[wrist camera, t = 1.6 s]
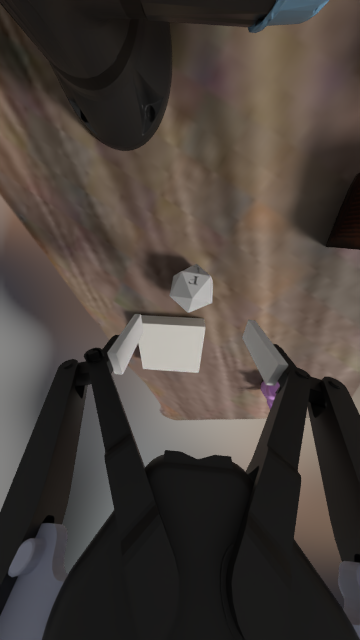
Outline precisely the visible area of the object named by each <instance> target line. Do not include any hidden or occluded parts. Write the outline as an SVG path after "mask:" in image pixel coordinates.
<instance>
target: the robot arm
mask: <svg viewBox="0 0 360 640" xmlns="http://www.w3.org/2000/svg"><path fill="white" fill-rule="evenodd" d="M328 1H329V0H0V3H1V5H2V6H3V7H4V8H5V9H6V10H7V12H8V13H9V14H10V15H11V16H12V18H13V19H14V20H15V21H16V22H17V24H18V25H19V26H20V27H21V28H22V29H23V31H24V32H25V33H26V34H27V35H28V37H29V38H30V39H31V40H32V41H33V43H34V44H35V45H36V46H37V47H38V48H39V50H40V51H41V52H42V53H43V54H44V56H45V57H46V58H47V59H48V60H49V62H50V64H51V66H52V68H53V70H54V72H55V74H56V76H57V78H58V80H59V82H60V84H61V86H62V88H63V90H64V92H65V94H66V96H67V98H68V100H69V102H70V103H71V105H72V107H73V109H74V110H75V112H76V114H77V115H78V117H79V118H80V119H81V121H82V122H83V123H84V125H85V126H86V127H87V128H88V129H89V130H90V132H91V133H92V134H93V135H94V136H95V137H97V138H98V139H99V140H100V141H101V142H103V143H104V144H106V145H107V146H109V147H111V148H114V149H117V150H121V151H129V150H134V149H137V148H139V147H141V146H142V145H144V144H145V143H146V142H147V141H149V139H150V138H151V137H152V136H153V135H154V133H155V132H156V130H157V129H158V127H159V125H160V123H161V121H162V118H163V116H164V113H165V110H166V107H167V103H168V99H169V93H170V87H171V78H172V45H171V35H170V26H169V22H179V23H194V24H208V25H223V26H238V27H248V30H249V32H251V33H257V32H259V31H261V30H263V29H264V28H265V27H266V26H271V25H288V24H300V23H302V22H305V21H307V20H309V19H310V18H312V17H313V16H314V15H316V14H317V13H318V12H319V11H320V10H321V9H322V8H323V7H324V6H325V4H326V3H327V2H328ZM142 334H143V325H142V318H141V314H134V316H133V317H132V319H131V320H130V321H129V323H128V324H127V326H126V327H125V328H124V330H123V331H122V333H121V334H120V335H115V336H113V337H112V338H111V339H110V340H109V342H108V343H107V344H106V345H105V347H104V348H103V349H100V348H93V349H90V350H88V351H87V352H86V353H85V354H84V358H85V359H86V362H81V363H78V361H77V360H74V359H72V360H68V361H65V362H64V363H62V364H61V365H60V366H59V368H58V370H57V372H56V375H55V377H54V380H53V382H52V385H51V387H50V390H49V392H48V395H47V397H46V400H45V402H44V405H43V407H42V410H41V412H40V415H39V417H38V420H37V422H36V425H35V427H34V430H33V432H32V435H31V437H30V440H29V442H28V444H27V447H26V449H25V452H24V454H23V457H22V459H21V462H20V464H19V467H18V469H17V472H16V474H15V477H14V479H13V482H12V484H11V487H10V489H9V492H8V494H7V497H6V499H5V502H4V504H3V507H2V509H1V512H0V640H360V415H359V413H358V410H357V408H356V407H355V404H354V402H353V400H352V398H351V396H350V394H349V392H348V390H347V388H346V387H345V385H343V384H342V383H341V382H340V381H338V380H336V379H334V378H331V377H324V378H323V379H322V380H320V379H317V378H313V377H311V376H310V375H309V374H308V373H307V372H306V371H304V370H302V369H300V368H297V367H296V366H295V364H294V363H293V362H292V361H291V359H290V358H289V357H288V356H287V354H286V353H285V352H284V351H283V349H282V348H281V347H279V346H278V345H277V344H272V342H271V341H270V340H269V338H268V337H267V336H266V334H265V333H264V332H263V330H262V329H261V328H260V326H259V325H258V324H257V322H256V321H255V320H248V323H247V325H246V328H245V331H244V334H243V337H242V338H243V340H244V342H245V344H246V346H247V348H248V350H249V352H250V354H251V356H252V358H253V360H254V362H255V364H256V366H257V368H258V370H259V372H260V374H261V376H262V378H263V380H264V382H265V384H266V385H271V386H275V385H276V383H277V382H278V383H279V385H280V386H279V388H278V389H277V391H276V392H275V393H276V396H275V399H274V401H273V404H272V407H271V409H270V412H269V415H268V418H267V421H266V423H265V426H264V428H263V431H262V434H261V437H260V439H259V442H258V445H257V447H256V450H255V453H254V455H253V458H252V460H251V462H250V464H249V466H248V468H247V470H246V472H245V471H244V470H243V469H242V468H241V467H239V466H238V465H237V464H235V463H233V462H232V460H231V457H229V456H219V455H213V456H209V457H206V458H202V459H195V458H193V457H191V456H189V455H187V454H185V453H183V452H179V451H168V450H165V454H164V455H161V456H159V457H157V458H155V459H153V460H152V461H151V462H150V463H149V464H148V465H147V466H146V467H145V466H144V464H143V461H142V458H141V455H140V453H139V450H138V447H137V444H136V442H135V439H134V436H133V433H132V431H131V428H130V425H129V422H128V420H127V416H126V414H125V411H124V408H123V405H122V402H121V400H120V397H119V394H118V392H117V388H116V386H115V383H114V380H113V377H112V375H111V373H112V371H113V370H114V373H115V374H123V373H124V371H125V369H126V367H127V365H128V363H129V361H130V359H131V357H132V355H133V352H134V350H135V348H136V346H137V344H138V342H139V340H140V338H141V336H142ZM89 384H92V388H93V392H94V398H95V403H96V408H97V413H98V417H99V422H100V427H101V432H102V437H103V442H104V447H105V464H106V468H107V474H108V479H109V484H110V490H111V495H112V500H113V505H114V511H113V512H112V514H111V515H110V516H109V518H108V519H107V521H106V522H105V523H104V525H103V526H102V527H101V529H100V530H99V532H98V533H97V534H96V536H95V537H94V538H93V540H92V541H91V542H90V544H89V545H88V547H87V548H86V550H85V551H84V552H83V554H82V555H81V556H80V558H79V559H78V560H77V562H76V563H75V565H74V566H73V568H72V569H71V571H70V572H69V574H67V573H66V571H65V567H64V555H65V549H66V544H67V530H66V528H65V527H64V525H62V522H63V519H64V515H65V512H66V508H67V504H68V499H69V494H70V489H71V482H72V477H73V471H74V465H75V459H76V452H77V446H78V440H79V434H80V428H81V422H82V416H83V410H84V403H85V398H86V392H87V385H89ZM307 406H308V411H309V416H310V421H311V426H312V431H313V436H314V441H315V446H316V451H317V456H318V461H319V466H320V471H321V475H322V481H323V485H324V491H325V495H326V501H327V506H328V511H329V516H330V521H331V525H332V528H333V533H334V537H335V541H336V544H337V547H338V550H339V553H340V556H341V560H342V563H340V566H339V578H338V584H339V588H340V590H341V593H342V595H343V597H344V609H342V607H341V606H340V604H339V603H338V601H337V600H336V598H335V597H334V595H333V594H332V593H331V591H330V590H329V588H328V587H327V586H326V584H325V583H324V581H323V580H322V578H321V577H320V575H319V574H318V573H317V572H316V570H315V568H314V567H313V565H312V564H311V563H310V561H309V560H308V558H307V557H306V556H305V554H304V553H303V551H302V550H301V548H300V547H299V546H298V544H297V543H296V541H295V540H294V532H295V525H296V517H297V510H298V501H299V495H300V487H301V475H300V474H299V473H298V463H299V456H300V450H301V444H302V438H303V431H304V425H305V418H306V412H307Z"/></svg>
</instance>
